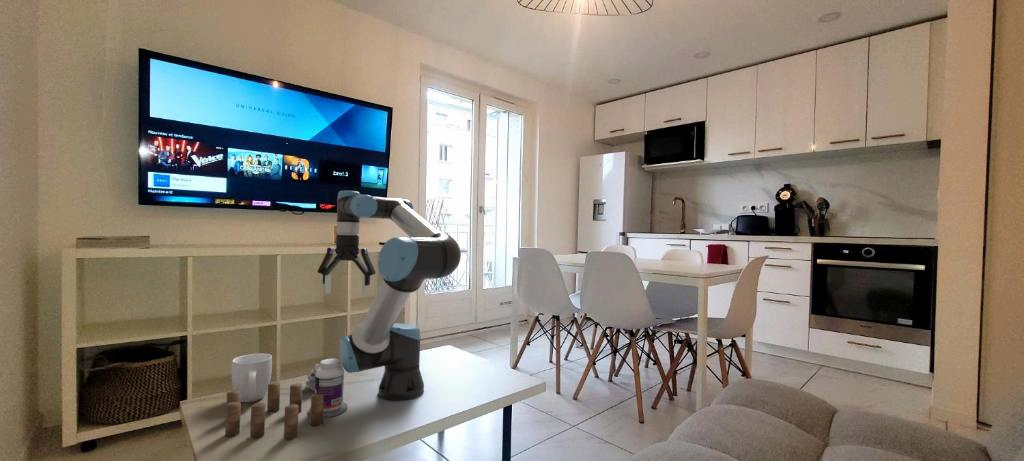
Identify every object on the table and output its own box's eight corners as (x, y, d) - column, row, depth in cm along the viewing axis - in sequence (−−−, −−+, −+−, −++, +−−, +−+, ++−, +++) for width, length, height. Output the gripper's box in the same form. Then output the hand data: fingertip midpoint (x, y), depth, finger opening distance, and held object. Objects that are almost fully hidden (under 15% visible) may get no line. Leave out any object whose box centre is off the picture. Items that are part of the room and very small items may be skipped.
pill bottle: (320, 402, 128) (321, 357, 128) (346, 402, 129) (347, 357, 129) (309, 414, 120) (311, 365, 120) (337, 413, 121) (339, 365, 121)
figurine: (316, 366, 136) (325, 349, 148) (296, 387, 136) (307, 369, 148) (337, 380, 138) (344, 362, 150) (317, 401, 138) (326, 382, 150)
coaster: (353, 403, 130) (353, 401, 130) (336, 419, 119) (336, 417, 119) (320, 401, 130) (320, 399, 130) (300, 416, 119) (300, 414, 119)
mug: (272, 405, 127) (274, 363, 127) (229, 413, 121) (231, 369, 121) (269, 389, 139) (271, 351, 139) (231, 396, 133) (232, 356, 133)
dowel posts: (336, 411, 123) (337, 385, 124) (300, 442, 105) (301, 411, 105) (250, 406, 126) (251, 380, 126) (200, 435, 107) (201, 404, 108)
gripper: (385, 235, 147) (384, 293, 147) (320, 233, 149) (318, 291, 149) (377, 235, 140) (375, 296, 140) (308, 233, 142) (306, 294, 142)
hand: (345, 294), depth 144 cm, fingers open, 13 cm apart
